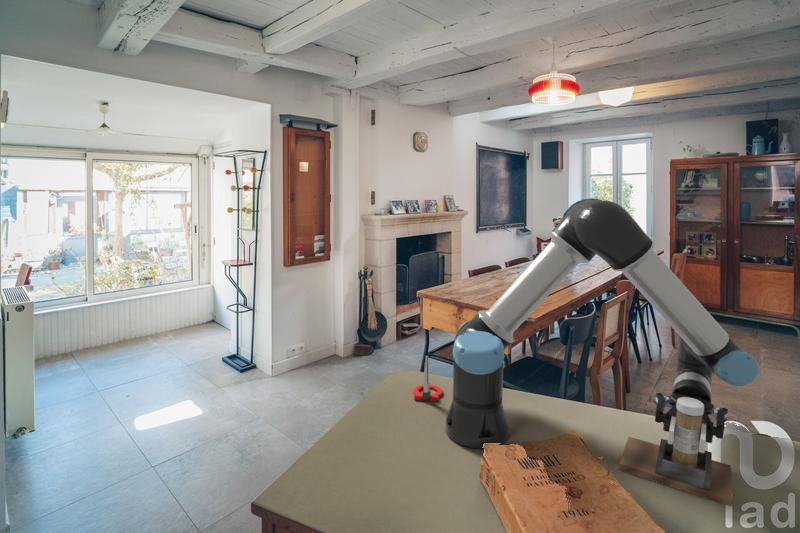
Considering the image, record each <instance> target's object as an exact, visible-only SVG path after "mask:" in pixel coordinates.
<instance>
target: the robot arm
mask: <svg viewBox="0 0 800 533" xmlns="http://www.w3.org/2000/svg"><path fill="white" fill-rule="evenodd" d="M550 238H551V239H550V242H549V243H548V244H547V245H546V246H545V247H544V249H543V250H541V251H540V253H539V254H538V255H537V256H536V257H535V258H534V260H532V262H531V263H530V264H529V265H528V266H527V267H526V268H525V269H524V270H523V271H522V272H521V273H520V275H518V277H517V278H516V279H515V280H514V281H513V282H512V283H511V285H510V286H509V287H508V288H507V289H506V290H505V291H504V292H503V294H501V296H499V297H498V299H497V300H496V301H495V302H494V303H493V304H492V305H491V307H489V308H488V309H485V310H479V311H478V312H477V313H476V314H475V315H474V316H473V317H472V319H469V320H466V321H465V322H464V323H463V324H461V325H460V327H459V328H458V330H457V332H456V334H455V337H454V342H453V348H452V357H453V369H452V370H453V374H452V376H453V378H452V381H453V382H452V383H453V385H452V387H453V388H452V389H453V390H452V401H451V403H450V406H449V410H448V413H447V415H446V417H445V433H446V435H447V436H448V437H449V438H450V439H451V440H452V441H453V442H455V443H457V444H458V445H461V446H464V447H466V448H471V449H481V450H482V447H483V444H484V443H503V444H504V443H505V442H506V441H507V440H508V439H509V436H510V435H509V434H510V433H509V432H510V424H509V421H508V417H507V415H506V412H505V409H504V404H503V393H504V392H503V388H504V385H503V384H504V361H505V355H506V354H505V351H506V349H508V347H510V345H512V344H513V342H514V332H515V331H516V330H518V328H519V327H520V326H521V325H522V324H523V323H525V321H526V320H527V319H528V318H529V317H530V315H531V314H532V313H533V312H534V311H535V310H537V308H538V307H539V306H540V305H541V304H542V303H543V302H544V301H545V300H546V299H547V297H549V295H551V294H552V292H553V291H554V290H555V289H556V288H557V287H558V286H559V285H560V284H561V283H562V282H563V280H565V279H566V278H567V277H568V275H570V273H571V272H573V270H574V269H575V268H576V267H577V266H578V265H580V264H587V263H589V262H590V261H592V259H594V257H595V256H596V255H597V256H598V257H600V258H601V259H602V260H603V261H605V263H607V264H608V265H609V267H610V268H611V269H612V270H613V271H615V272H622V274H623V275H624V276H625V277H626V278H627V279H628V280H629V282H631V284H632V285H633V286H634V287H635V288H636V289H637V290H638V291H639V293H641V295H642V296H643V297H644V298H645V300H647V301H648V302H649V304H650V305H651V306H652V307H653V309H655V311H656V312H658V313H659V314H660V316H661V317H662V318H663V319H664V321H666V322H667V324H669V326H670V327H671V328H672V329H673V330H674V331H675V332H676V333H677V334H678V335H679V345H678V355H677V361H676V370H675V376H674V377H675V378H674V381H673V388H672V393H671V394H670V395H669V396H665V395H663V393H661V392H656V394H655V403H654V404H655V406H656V408H655V409H656V410H655V415H654V416H655V417H654V421H655V423H659V424H660V423H661V424H663V427H662V430H663V432H667V433H668V439H667V440H668V444H672V443H673V439H674V431H675V422H676V415H677V408H676V405H677V399H678V398H680V397H689V398H694V399H697V400H699V401H701V402H702V403H703V404H704V413H703V416H702V422H701V435H700V444H699V452H701V453H704V450H705V449H706V443H708V444H712V443H713V439H714V437H716V438H717V439H719V440H722V439H724V432H725V422H726V421H728V415H729V414H728V413H729V409H728V408H726V407H720V408H718V407H717V408H716V407H715V406H714V404H713V403H712V383H713V382H712V381H713V374H714V375H715V376H717V378H718V379H719V380H720V381H722V382H723V381H724V382H725V383H726V384H728V385H731V386H733V387H734V386H735V387H741V386H747V385H749V384H750V383H752V382H753V381H755V379H756V378H757V377H758V375H759V371H760V366H759V363H758V361H757V360H756V358H755V357H754V356H753V355H751V354H750V353H749V352H748V351H746V350H744V349H742V348H741V347H740V346H739V345H738V344H737V342H736V341H734V339H733V338H732V337H731V336H730V335H729V334H728V332H727V331H726V330H725V329H724V328H723V327H722V326H721V324H720V323H719V322H718V321H717V320H716V319H715V317H713V315H712V314H711V313H710V312H709V310H707V309H706V308H705V307H704V306H703V305H702V303H701V302H700V301H699V300H698V299H697V298H696V297H695V295H694V294H693V293H692V292H691V291H690V290H689V288H687V286H686V285H685V284H684V283H683V282H682V281H681V280H680V278H679V277H678V276H676V274H675V273H674V272H673V271H672V270H671V268H670V267H669V266H668V265H667V264H666V263H665V262H664V260H662V258H661V257H660V256H659V255H658V254H657V253H656V252H655V250H654V249H653V248H654V241H652V239H651V238H650V237H649V236H648V235H647V233H646V232H645V231H644V229H643V228H642V227H641V226H640V225H639V224H638V222H637V221H636V220H635V219H634V217H633V216H632V215H631V214H630V213H629V212H628V211H627V210H626V209H625V208H624V207H623V206H622V205H620V204H618V203H617V202H614V201H611V200H604V199H599V198H592V197H591V198H583V199H581V200H578V201H575V202H573V203H572V204H570V205H569V207H567V208H566V209H565V211H564V213H563V215H562V217H561V220H560V222H559V223H558V224H557V225H556V226H555V227H554V228H553V229H552V231H551V232H550ZM667 404H668V405H670V406H671V407H670V409H668V411H667V412H666V413H664V410H665V407H666V405H667ZM709 415H713V416H714V417H715V418H714V419H715V420H716V421H712V420H711V418H710V417H709ZM714 422H715V425H714ZM705 451H706V450H705Z"/></svg>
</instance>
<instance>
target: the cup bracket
mask: <svg viewBox="0 0 800 533" xmlns="http://www.w3.org/2000/svg"><path fill="white" fill-rule="evenodd" d="M672 453H673V443H672V444H668V439H664V438H661V439H660V443H659V444H657V443H652V442H649V441H646V440H642V439H638V438H635V437H632V436H627V440H626V442H625V446H624V449H623V452H622V455H621V458H620V460H619V465H618V470H619V471H621V470H623V471H622V472H624V471H626V472H625V473H627V472H629V473H628V474H631V475H634V476H638V477H640V478H643V479H646V478H647V479H646V480H649V479H650V480H649V481H652V480H653V482H655V481H657V482H656V483H658V482H660V483H659V484H662V483H663V484H662V485H665V484H666V485H665V486H668V487H671V486H672V487H671V488H675V489H677V490H681V491H684V492H687V493H689V494H693V495H696V496H700V497H702V498H704V499H709V500H711V501H715V502H718V503H719V504H720V503H721V504H724V505H727V506H730V507H732V505H733V483H732V466H731V464H727V463H724V462H721V461H717V460H714V459H712V455H713V452H712V451H709V450H708V451H707V450H704V453H701V452H698V456H697V467H695V468H692V467H689V466H685V465H682V464H679V463H675V462H673V461H672V459H671V456H672Z"/></svg>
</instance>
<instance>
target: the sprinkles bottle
mask: <svg viewBox="0 0 800 533" xmlns="http://www.w3.org/2000/svg"><path fill="white" fill-rule="evenodd" d="M676 408H677V415H676V422H675V431H674V437H673V453H672V456H671V459H672V461H673V462H675V463H679V464H682V465H685V466H689V467H692V468H695V467H697V456H698V452H699V448H700V435H701V422H702V416H703V413H704V404H703V403H702V402H701V401H699V400H697V399H694V398H689V397H680V398H678V399H677V405H676Z"/></svg>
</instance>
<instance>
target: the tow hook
mask: <svg viewBox="0 0 800 533" xmlns="http://www.w3.org/2000/svg"><path fill="white" fill-rule="evenodd" d="M430 383H431V382H430V363H429V355H425V360H424V382H423V384H420V385H417V386H416V387H414V388H413V390H412V394H413V395H414V400H415V401H423V402H439V398H440V397H441V396H442V395H443V389H442V388H441V386H440V387H439V386H437V385H433V384H430ZM431 390H433V391H435V393H432V394H431ZM420 391H422V393H421V392H420Z"/></svg>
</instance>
